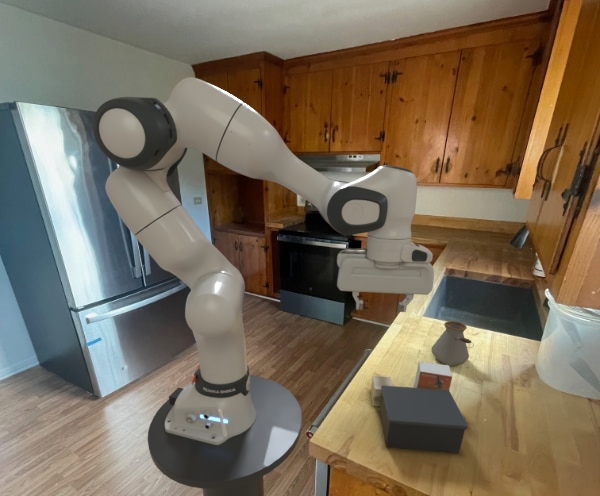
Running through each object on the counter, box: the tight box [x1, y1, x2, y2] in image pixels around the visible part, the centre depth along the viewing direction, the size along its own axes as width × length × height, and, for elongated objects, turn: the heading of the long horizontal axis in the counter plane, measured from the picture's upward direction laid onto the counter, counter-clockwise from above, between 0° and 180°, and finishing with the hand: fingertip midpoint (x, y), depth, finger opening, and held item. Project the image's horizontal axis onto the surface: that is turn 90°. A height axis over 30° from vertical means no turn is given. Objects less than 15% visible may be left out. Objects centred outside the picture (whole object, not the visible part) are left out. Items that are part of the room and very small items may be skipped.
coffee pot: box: [431, 320, 475, 367], centre depth 103 cm, size 21×12×15 cm, turn 169°
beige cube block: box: [370, 375, 394, 407], centre depth 89 cm, size 5×6×6 cm
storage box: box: [379, 385, 469, 454], centre depth 78 cm, size 17×13×8 cm
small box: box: [413, 360, 453, 391], centre depth 88 cm, size 8×6×10 cm
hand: (380, 309), depth 74 cm, fingers open, 8 cm apart
